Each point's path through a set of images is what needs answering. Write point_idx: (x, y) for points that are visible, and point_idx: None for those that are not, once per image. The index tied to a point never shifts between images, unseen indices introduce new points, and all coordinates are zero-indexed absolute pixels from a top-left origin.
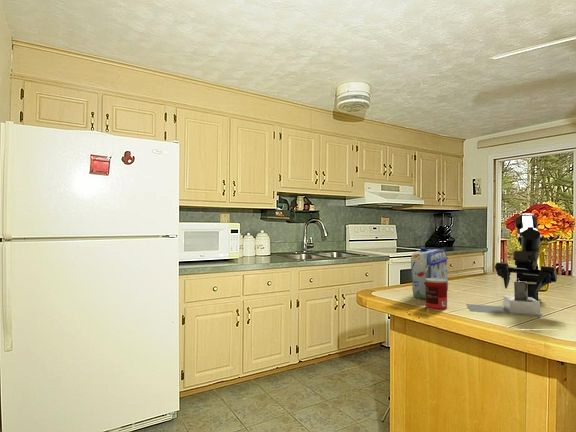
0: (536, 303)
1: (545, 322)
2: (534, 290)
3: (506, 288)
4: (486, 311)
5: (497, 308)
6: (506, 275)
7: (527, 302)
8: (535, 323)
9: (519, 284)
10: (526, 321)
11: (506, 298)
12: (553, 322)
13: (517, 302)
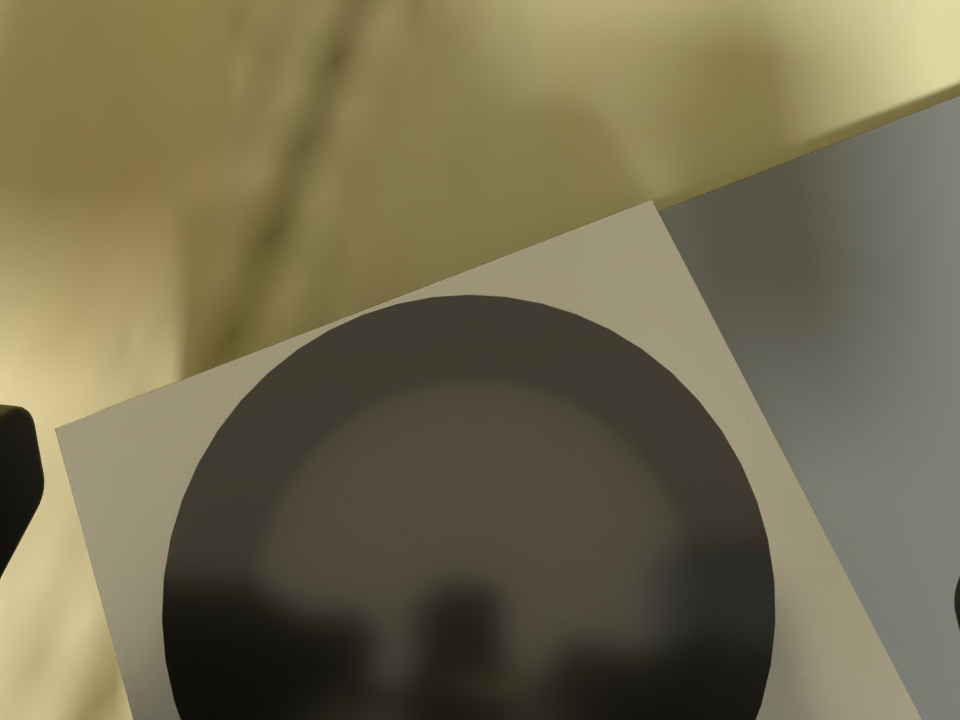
0: (137, 407)
1: (109, 156)
2: (22, 413)
3: (956, 587)
4: (951, 172)
5: (904, 566)
6: None
7: (312, 335)
8: (230, 13)
9: (484, 314)
10: (341, 41)
11: (805, 510)
12: (6, 232)
13: (506, 265)
